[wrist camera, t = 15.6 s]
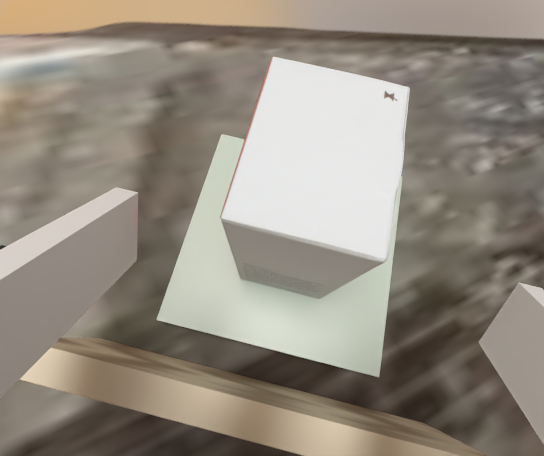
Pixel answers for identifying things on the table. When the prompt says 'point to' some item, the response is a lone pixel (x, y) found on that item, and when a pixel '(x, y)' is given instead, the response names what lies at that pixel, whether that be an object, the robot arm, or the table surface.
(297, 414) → the wooden screen
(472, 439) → the table surface
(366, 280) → the display plate
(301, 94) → the small box
